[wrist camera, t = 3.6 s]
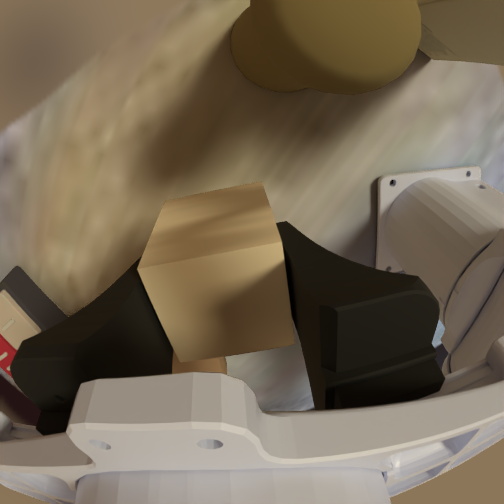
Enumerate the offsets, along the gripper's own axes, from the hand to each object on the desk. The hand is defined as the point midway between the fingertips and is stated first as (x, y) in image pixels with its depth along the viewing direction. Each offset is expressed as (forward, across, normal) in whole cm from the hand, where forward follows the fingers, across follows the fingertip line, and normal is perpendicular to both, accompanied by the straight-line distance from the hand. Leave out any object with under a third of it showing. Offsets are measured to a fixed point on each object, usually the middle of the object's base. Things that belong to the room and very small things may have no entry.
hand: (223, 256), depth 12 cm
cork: (+8, -5, -8) cm, 13 cm away
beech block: (+2, 0, 0) cm, 2 cm away
